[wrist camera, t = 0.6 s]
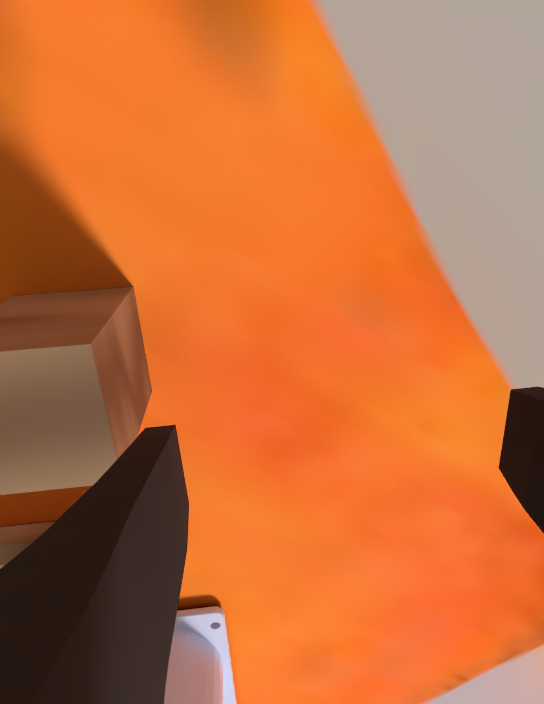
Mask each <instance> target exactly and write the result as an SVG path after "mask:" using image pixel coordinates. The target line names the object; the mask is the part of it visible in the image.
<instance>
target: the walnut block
mask: <svg viewBox="0 0 544 704" xmlns="http://www.w3.org/2000/svg"><path fill="white" fill-rule="evenodd" d="M151 392H152V388H151V383H150V377H149V371H148V366H147V360H146V355H145V349H144V344H143V338H142V332H141V327H140V321H139V316H138V310H137V304H136V299H135V293H134V288H133V287H122V288H109V289H96V290H83V291H70V292H57V293H44V294H31V295H18V296H11V297H10V298H8V299H7V300H5V301H3V302H2V303H0V495H6V494H16V493H25V492H35V491H45V490H54V489H64V488H74V487H83V486H93V485H94V484H95V483H96V482H97V481H98V480H99V479H100V478H101V476H102V475H103V474H104V473H105V472H106V471H107V470H108V469H109V468H110V467H111V466H112V465H113V463H114V462H115V461H116V460H117V459H118V458H119V457H120V456H121V455H122V454H123V452H124V451H125V450H126V449H127V448H128V447H129V446H130V445H131V443H132V442H133V441H134V440H135V439H136V438H137V435H138V432H139V429H140V426H141V423H142V420H143V417H144V414H145V411H146V408H147V405H148V401H149V398H150V395H151Z"/></svg>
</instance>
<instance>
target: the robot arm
mask: <svg viewBox="0 0 544 704" xmlns="http://www.w3.org/2000/svg"><path fill="white" fill-rule="evenodd" d="M499 469H500V471H501V472H502V474H503V476H504V478H505V479H506V481H507V483H508V484H509V486H510V488H511V489H512V491H513V493H514V494H515V496H516V497H517V499H518V500H519V502H520V503H521V505H522V506H523V508H524V509H525V511H526V512H527V513H528V514H529V516H530V517H531V518H532V519H533V521H534V522H535V523H536V524H537V526H538V527H539V528H540V529H541V531H542V532H543V533H544V388H542V387H531V388H522V389H512V390H511V392H510V399H509V405H508V412H507V418H506V425H505V431H504V438H503V444H502V451H501V457H500V463H499ZM188 517H189V501H188V495H187V489H186V484H185V478H184V472H183V466H182V460H181V454H180V449H179V443H178V437H177V431H176V425H169V426H160V427H150V428H145V429H144V430H143V431H142V432H141V434H140V435H139V436H138V437H137V438H136V439H135V440H134V441H133V442H132V443H131V445H130V446H129V447H128V448H127V449H126V450H125V451H124V452H123V454H122V455H121V456H120V457H119V458H118V459H117V460H116V461H115V462H114V463H113V465H112V466H111V467H110V468H109V469H108V470H107V471H106V472H105V473H104V474H103V475H102V476H101V478H100V479H99V480H98V481H97V482H96V483H95V484H94V485H93V486H92V487H91V488H90V489H89V490H88V491H87V492H86V493H85V494H84V495H83V496H82V497H81V498H80V499H79V500H78V501H77V502H76V503H75V504H74V505H73V506H71V507H70V508H69V509H68V510H67V511H66V512H65V513H64V514H63V515H62V516H61V517H60V518H59V519H58V520H57V521H56V522H55V523H54V524H53V525H52V526H51V527H50V528H48V529H47V530H46V531H45V532H44V533H43V534H42V535H41V536H39V537H38V538H37V539H36V540H35V541H34V542H32V543H31V544H30V545H29V546H28V547H27V548H25V549H24V550H23V551H22V552H20V553H19V554H18V555H17V556H16V557H14V558H13V559H12V560H11V561H9V562H8V563H7V564H6V565H5V566H3V567H2V568H1V569H0V704H237V701H236V694H235V687H234V680H233V672H232V665H231V658H230V651H229V644H228V636H227V629H226V622H225V615H224V611H223V609H222V608H220V607H217V606H213V607H205V608H196V609H188V610H180V611H177V609H178V602H179V596H180V590H181V584H182V578H183V572H184V565H185V559H186V553H187V540H188Z"/></svg>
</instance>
